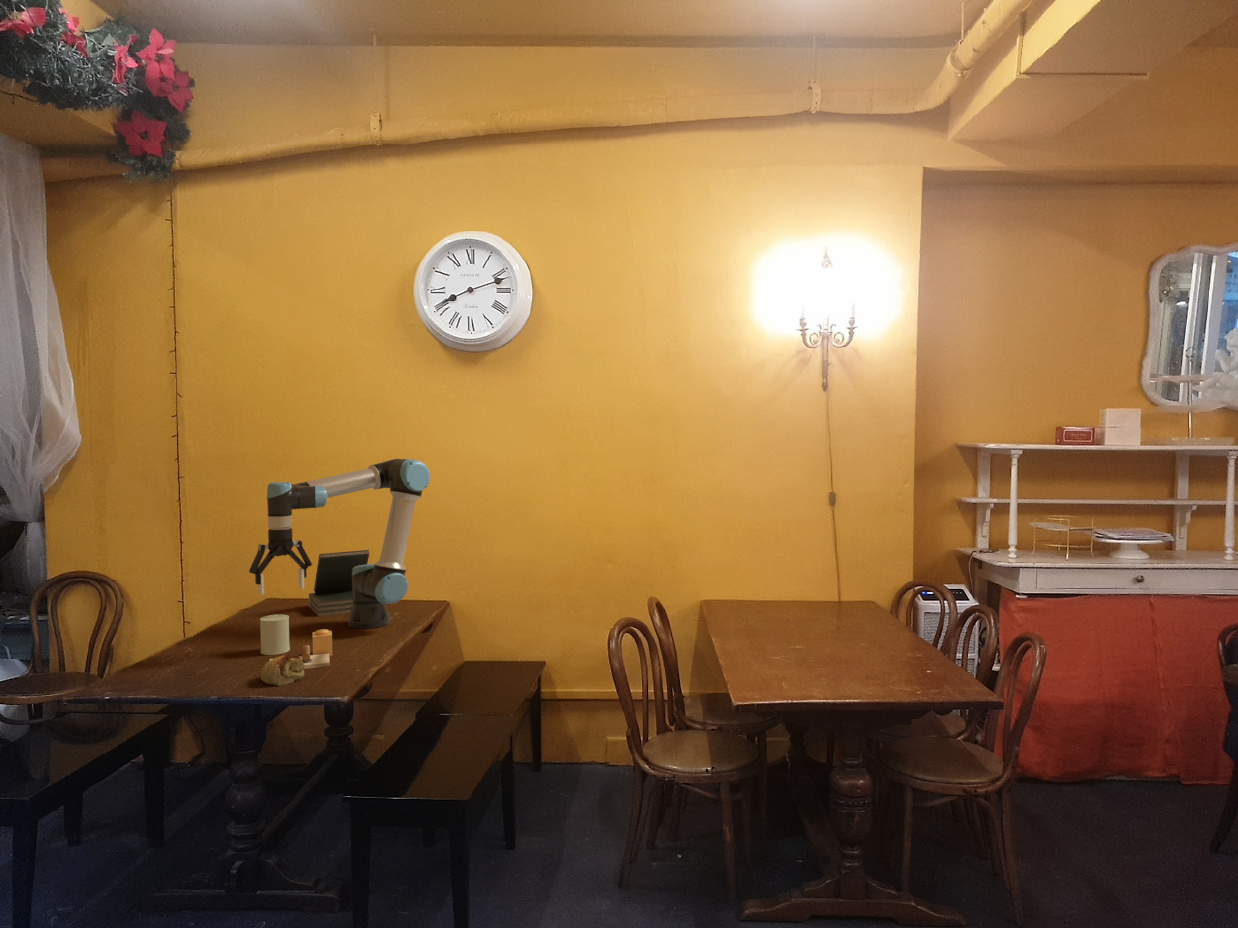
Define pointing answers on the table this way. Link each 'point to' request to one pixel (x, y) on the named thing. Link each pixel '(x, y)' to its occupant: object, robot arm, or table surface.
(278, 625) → the can
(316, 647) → the cube with dome bump
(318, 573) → the dark boxy piece
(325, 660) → the flat beige board
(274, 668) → the pastry
